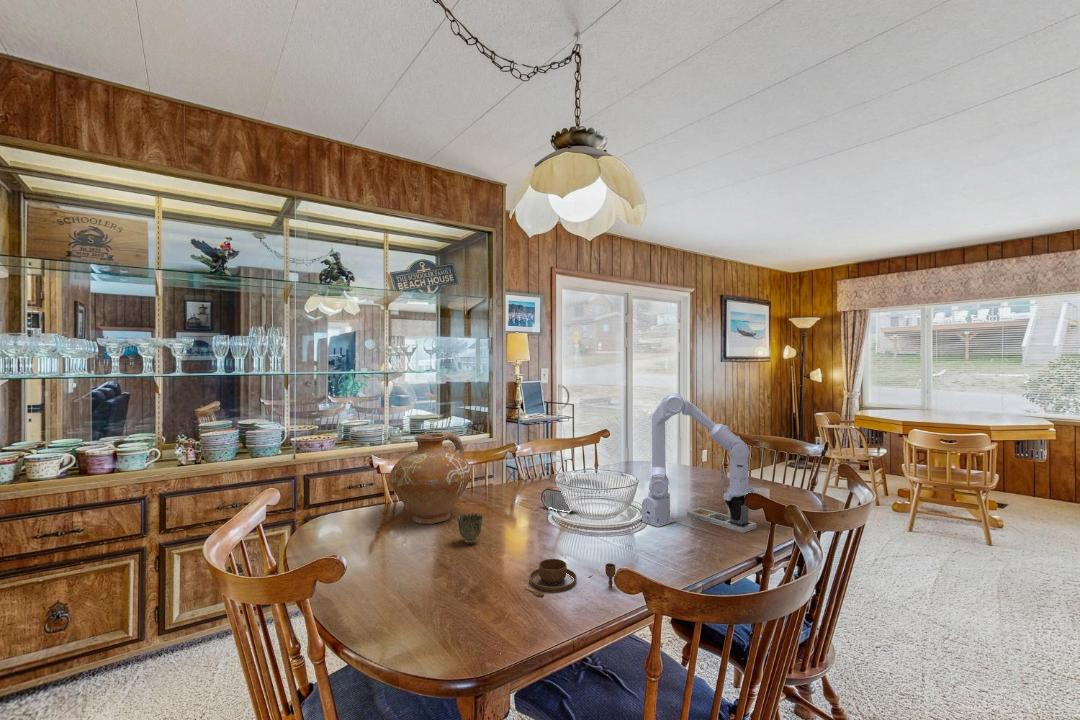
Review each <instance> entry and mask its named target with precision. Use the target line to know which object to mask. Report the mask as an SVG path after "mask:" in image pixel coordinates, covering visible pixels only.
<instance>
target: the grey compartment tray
mask: <svg viewBox="0 0 1080 720" xmlns="http://www.w3.org/2000/svg"><path fill="white" fill-rule="evenodd" d="M686 515H687V517H689V518H693V519H697V520H700V521H704V522H706V523H709V524H713V525H717V526H719V527H723V528H727V529H729V530H733V531H736V532H739V533H741V534H744V533H746V532H750V531H752V530H755V529H757V526H758V525H757V523H756V522H752V521H749V520H748V525H746V526H743V527H741V526H738V525H735V524H731V523H730V514H725V513H721V512H717V511H715V510H714V511H713V510H710V509H706V508H703V507H698V508H694V509H691V510H687V511H686Z"/></svg>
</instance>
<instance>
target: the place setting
mask: <svg viewBox="0 0 1080 720" xmlns="http://www.w3.org/2000/svg"><path fill="white" fill-rule="evenodd" d="M604 568H605V569H604V570H605V575H606V576H607V577H608V582H607V583H608V588H609V589H613V588H614V586H613V577H615V576H614V575H616V564H614V563H611V562H610V563H606V564H605V567H604ZM566 573H567V574H569V575H570V576H572V577H573V578H574V581H573V580H572V582H570V583H568V584H565V585H560V586H546V585H540V584H538V583H536V582H534V579H535V578H537V577H538V576H539V577H540V579H542V581H544V582H545V583H546V584H548V585H558V584H560V583H561V582H562V581H564V580H565V578H566V576H567V575H566ZM539 574H540V575H539ZM570 576H569V577H570ZM589 576H590V575H589ZM593 576H594V575H593V574H592V576H590V577H589V578H591V577H593ZM528 579H529V582H530V584H531V585H532V587H534V588H535V589H537V591H535V590H532V589H529V588H526V587H524V588H523V590H525V591H528V592H531V593H532V594H533V595H534V596H535V597H541V598H542V597H544V595H545V593H544V592H548V591H549V592H550V593H555V592H557V593H558V592H563V591H567V590H569V589H571V588H573V587H574V586H575V585H576V583H577V574H576V573H575V572H574V571H573V570H571V569H568V568H567V563H566V562H565V561H564V560H562V559H559V558H547V559H544V560H542V561H540V562H539V563H538V568H536V569H534V570H533V571H531V573H530V574H529V578H528ZM538 590H539V591H538ZM542 591H544V592H542Z"/></svg>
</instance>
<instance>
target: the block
mask: <svg viewBox="0 0 1080 720" xmlns="http://www.w3.org/2000/svg"><path fill="white" fill-rule="evenodd" d="M729 516H730V523H731V524H735V525H738V526H741V527H743V526H746V525H748V521H749V510H748V508H747V507H746V506H745V504H744V502H742V505H741V508H740V516H739V520H738V521H736V520H733V519H732V517H731V514H730V513H729Z"/></svg>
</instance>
